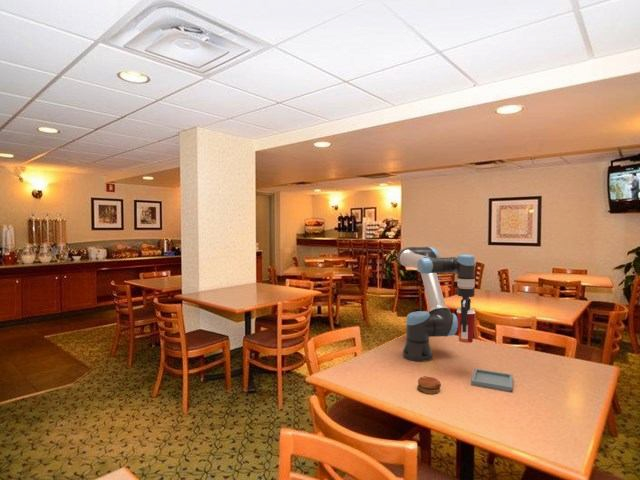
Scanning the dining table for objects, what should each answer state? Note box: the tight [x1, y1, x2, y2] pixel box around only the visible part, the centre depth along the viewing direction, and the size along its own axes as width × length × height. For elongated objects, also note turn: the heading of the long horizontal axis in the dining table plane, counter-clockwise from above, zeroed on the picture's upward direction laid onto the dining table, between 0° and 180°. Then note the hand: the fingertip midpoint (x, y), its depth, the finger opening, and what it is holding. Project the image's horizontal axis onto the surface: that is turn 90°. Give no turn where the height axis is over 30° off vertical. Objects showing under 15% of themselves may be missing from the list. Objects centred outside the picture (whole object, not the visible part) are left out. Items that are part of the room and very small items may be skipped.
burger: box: [417, 375, 442, 395], centre depth 160 cm, size 10×9×5 cm
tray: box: [470, 368, 514, 393], centre depth 168 cm, size 16×16×2 cm
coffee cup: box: [456, 307, 476, 344], centre depth 178 cm, size 8×8×15 cm
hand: (465, 336), depth 178 cm, fingers closed on coffee cup, 7 cm apart
